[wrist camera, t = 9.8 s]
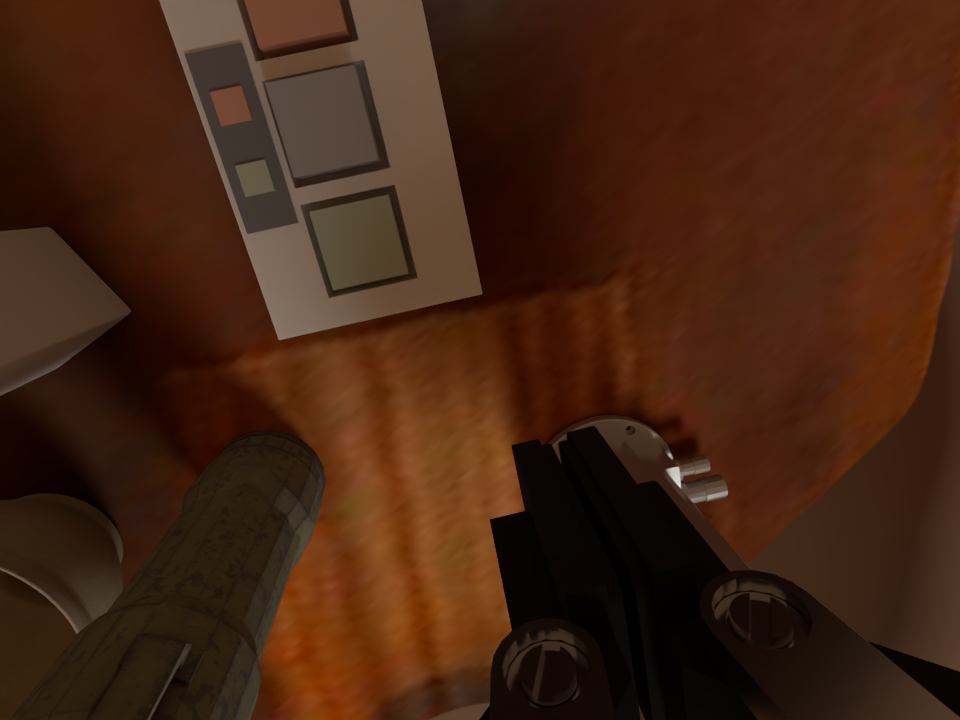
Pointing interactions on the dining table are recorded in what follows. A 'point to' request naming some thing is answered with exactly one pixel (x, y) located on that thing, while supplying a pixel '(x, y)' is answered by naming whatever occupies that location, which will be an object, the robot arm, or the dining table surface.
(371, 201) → the sage key
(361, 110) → the grey key
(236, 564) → the thermos
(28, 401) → the dining table surface
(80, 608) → the planter bowl
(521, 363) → the dining table surface
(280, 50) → the terracotta key
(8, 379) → the milk carton
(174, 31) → the keypad
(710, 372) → the dining table surface
